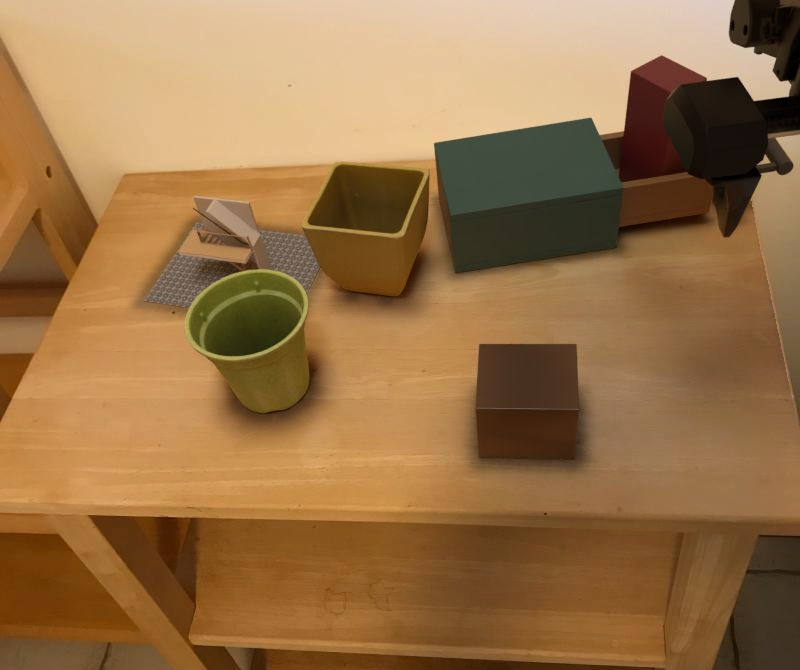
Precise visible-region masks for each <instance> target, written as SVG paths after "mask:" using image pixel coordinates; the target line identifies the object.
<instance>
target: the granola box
mask: <svg viewBox="0 0 800 670" xmlns="http://www.w3.org/2000/svg"><path fill="white" fill-rule="evenodd" d="M703 81H708V77H706V76H705V75H702V74H700V73H698V72H697V71H694V70H692V69H690V68H688V67H686V66H684V65H682V64H680V63H678V62H676V61H674V60H672V59H671V58H668V57H666V56H664V55H659V56H657V57H655V58H653V59H652V60H650V61H648V62H645V63H644V64H642V65H640V66H638V67H636V68H634V69H633V70H631V71H630V76H629V84H628V92H627V102H626V109H625V119H624V120H625V121H624V127H623V131H624V135H623V144H622V153H621V162H620V170H619V179H620V181H621V182H628V181H634V180H640V179H646V178H653V177H659V176H665V175H671V174H678V173H684V172H687V171H686V169H685V167H684V165H683V163H682V161H681V159H680V157H679V156H678V154H677V152H676V150H675V148H674V146H673V144H672V142H671V140H670V138H669V136H668V135H667V133H666V131H665V129H664V127H663V125H662V118H663V114H664V109H665V104H666V99H667V98H668V97H669V95H670V94H671V92H672V91H673V90H674V89H675V88H677V87H678V86H680V85H681V84H687V83H695V82H703Z"/></svg>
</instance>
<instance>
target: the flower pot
mask: <svg viewBox="0 0 800 670" xmlns="http://www.w3.org/2000/svg"><path fill="white" fill-rule="evenodd" d="M430 176H431V175H430V169H428V168H424V167H414V166H404V165H403V166H399V165H387V164H376V163H375V164H374V163H365V162H354V161H353V162H352V161H335V162H333V163H332V165H331V167H330V168H329V170H328V172H327V175H326V177H325V179H324V180H323V183H322V185H321V187H320V189H319V191H318V193H317V195H316V197H315V198H314V200H313V202H312V204H311V205H310V207H309V208H308V210H307V213H306V215H305V216H304V218H303V220H302V222H301V229H302V231H303V233H304V235H305V236H306V238H307V240H308V242H309V245H310V247H311V249H312V251H313V253H314V256H315V258H316V260H317V262H318V264H319V266H320V269H321V270H322V272H323V273H324V274H325V275H326V277H328V278H329V279H330V280H331V281H332V282H334V283H335V284H336V285H338V286H340V287H341V288H343V289H345V290H347V291H350V292H356V293H366V294H374V295H381V296H387V297H399V296H400V295H401V294H402V292H403V291H404V289H405V287H406V284H407V282H408V279H409V277H410V273H411V271H412V269H413V266H414V263H415V261H416V258H417V255H418V253H419V251H420V249H421V246H422V245H423V244H422V243H423V241H424V239H425V234H426V232H427V231H426V230H427V226H428V221H429V208H430V207H429V204H430V178H431V177H430Z"/></svg>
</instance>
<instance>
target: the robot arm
mask: <svg viewBox="0 0 800 670" xmlns="http://www.w3.org/2000/svg"><path fill="white" fill-rule="evenodd" d="M729 17H730V18H729V25H728V38H729V41H730V43H732V44H734V45H736V46H738V47H742V48H744V49H749V48H753V53H754V54H755V55H758V56H759V55H762V54H764V55H767V56H768V57H772V58H775V61H774V64H773V68H772V72H773V74H774V75H775V77H776V78H777V79H778V81H779V82H780V83H782V82H788V83H789V84H790V85H791V86H790V87H789V91H788V96H781V97H775V98H773V97H772V98H765V99H758V100H754V98H753V97H752V95H751V94H750V93H749V91H748V89H747V88H746V86H745V85H744V84H743V81H742V80H741V79H740V78H739V76H734V77H726V78H719V79H711V80H707V81H703V82H695V83H687V84H681V85H680V86H678V87H677V88H675V89H674V90H673V91H672V92H671V94H670V95H669V97H668V98H667V99H666V104H665V109H664V114H663V118H662V125H663V127H664V129H665V131H666V133H667V135H668V136H669V138H670V140H671V142H672V144H673V146H674V148H675V150H676V152H677V154H678V156H679V157H680V159H681V161H682V163H683V165H684V167H685V169H686V171H687V173H688V175H691V176H694V177H696V178H699V179H705V180H706V182H707V183H708V184H710V185H712V186H713V191H714V195H713V197H714V198H713V199H714V205H715V212H716V218H717V226H718V229H719V231H720V233H721V235H722V237H723V238H730V237H731V236H732V234H734V232H735V231H736V229H737V228H738V226H739V224H740V222H741V220H742V218H743V217H744V214H745V212H746V210H747V208H748V205H749V204H750V202H751V200H752V197H753V195H754V193H755V191H756V189H757V187H758V185H759V183H760V181H761V179H762V177H763V176H762V173H760V172H759V170H758V169H757V167H756V165H760V164H761V162H763V161H764V159H765V157H766V155H765V153H766V150H767V147H768V139H770V138H776V139H777V138H784V137H785V138H786V137H791V136H799V135H800V0H734V1H733V5H732V8H731V11H730V16H729Z"/></svg>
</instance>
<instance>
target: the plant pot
mask: <svg viewBox="0 0 800 670" xmlns="http://www.w3.org/2000/svg"><path fill="white" fill-rule="evenodd" d="M307 294H308V293H306V292H305V290H304V288H303V287H302V285H301V284H300V283H299V282H298V281H297V280H296V279H294V278H293V277H291V276H289V275H287V274H285V273H282V272H279V271H273V270H268V269H257V270H247V271H242V272H238V273H234V274H232V275H229V276H227V277H224V278H222V279H220V280H218V281H216V282H215V283H213V284H211V285H210V286H209V287H208V288H206V289H205V290H204V291H203V292H202V293H200V294H199V295H198V296H197V298H196V299H195V300H194V301H193V303H192V304H191V306H190V308H188V309H187V313H186V315H185V319H184V325H183V326H184V327H183V328H184V334H185V337H186V339H187V341H188V343H189V344H190V346H191V347H192V348H193V349H194V350H195V351H196V352H197V353H198V354H200V355H202V357H205V358H206V359H207V360H209V362H211V363H212V364H213V365H214V366H215V368H216V369H217V370H218V372H219V374H220V375H221V376H222V377H223V379H224V380H225V382H226V383H227V384H228V386H229V387H230V389H231V390H232V392H233V394H234V395H235V396H236V398H237V399H238V401H239V402H240V403H241V404H242V405H243V406H244V407H245V408H246V409H248V410H250V411H252V412H255V413H259V414H267V413H270V412H274V411H284V410H285V411H286V410H287V409H289V408H291V407H292V406H294V405H296V404H297V403H299V401H300V400H301V399H302V398H303V397H304V395H305V394H306V392H307V391H308V389H309V385H310V367H309V360H308V352H307V343H306V335H305V327H306V321H307V318H308V313H309V297H308V295H307Z"/></svg>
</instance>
